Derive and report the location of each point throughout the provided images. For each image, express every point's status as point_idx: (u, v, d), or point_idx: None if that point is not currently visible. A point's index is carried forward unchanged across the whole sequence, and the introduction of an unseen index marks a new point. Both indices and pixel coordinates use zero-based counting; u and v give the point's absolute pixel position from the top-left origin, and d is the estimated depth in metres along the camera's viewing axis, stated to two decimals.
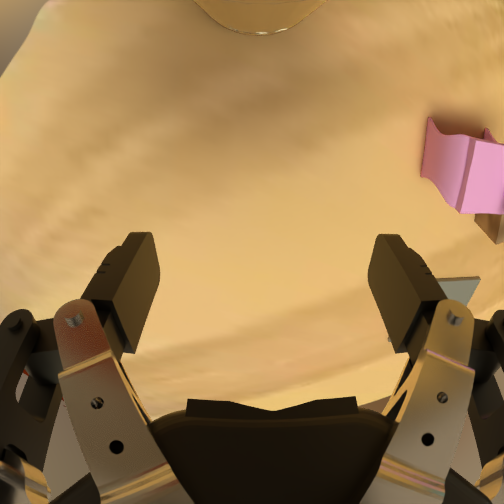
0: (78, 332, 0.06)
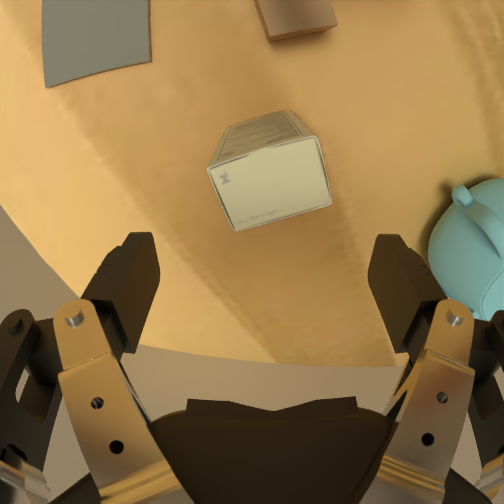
0: (78, 332, 0.06)
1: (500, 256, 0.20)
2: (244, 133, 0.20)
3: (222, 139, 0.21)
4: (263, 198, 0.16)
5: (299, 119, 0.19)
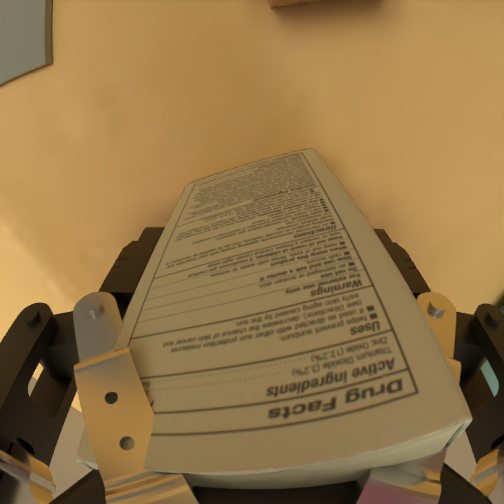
0: (98, 324, 0.06)
1: None
2: (208, 241, 0.08)
3: (159, 245, 0.09)
4: None
5: (357, 210, 0.07)
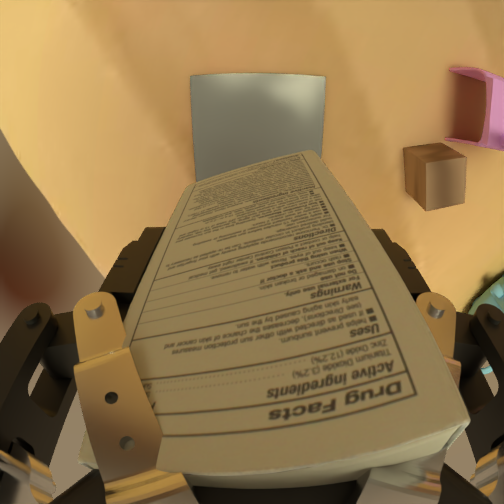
0: (98, 324, 0.06)
1: None
2: (208, 243, 0.08)
3: (159, 247, 0.09)
4: None
5: (357, 212, 0.07)
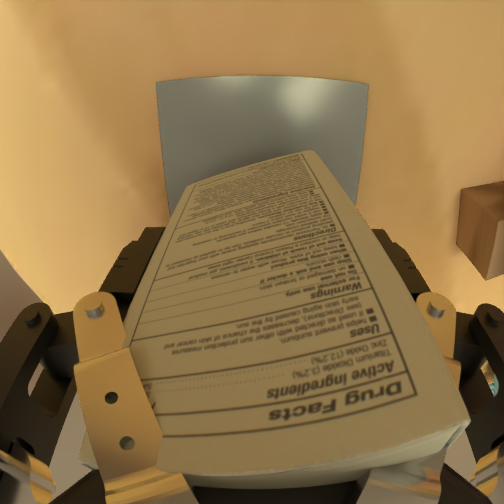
0: (98, 324, 0.06)
1: None
2: (208, 243, 0.08)
3: (159, 247, 0.09)
4: None
5: (357, 212, 0.07)
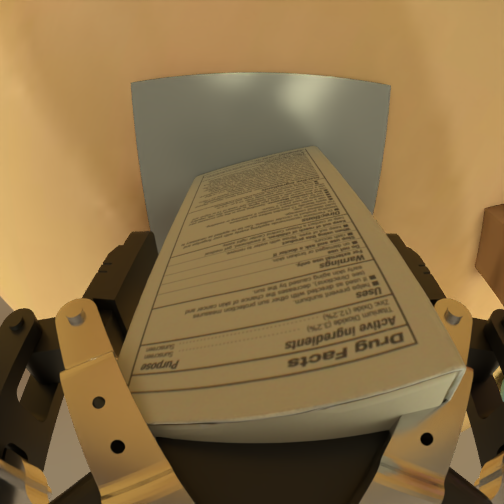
0: (80, 331, 0.06)
1: None
2: (221, 225, 0.09)
3: (173, 229, 0.10)
4: None
5: (358, 199, 0.08)
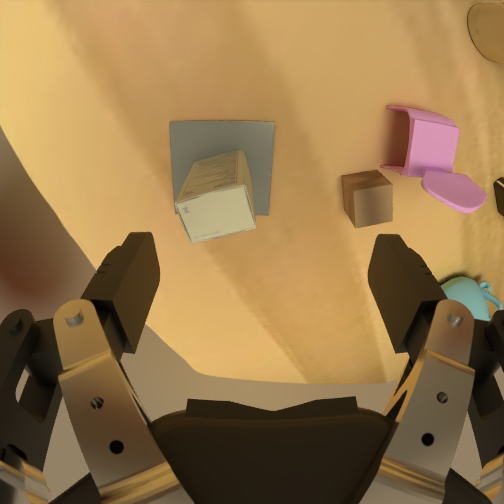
0: (78, 332, 0.06)
1: None
2: (204, 173, 0.29)
3: (188, 175, 0.30)
4: (210, 223, 0.25)
5: (243, 164, 0.28)
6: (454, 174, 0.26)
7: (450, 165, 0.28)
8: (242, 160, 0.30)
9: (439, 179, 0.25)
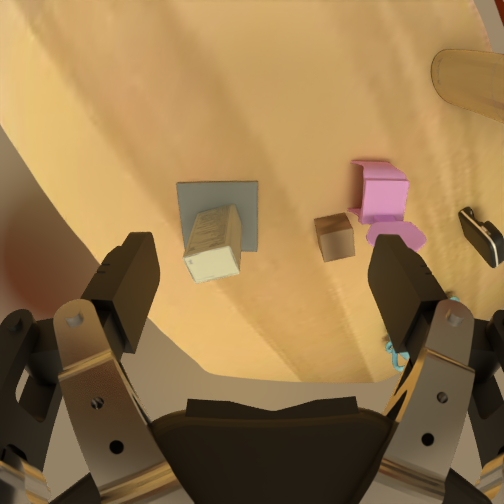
0: (78, 332, 0.06)
1: None
2: (203, 229, 0.40)
3: (192, 230, 0.41)
4: (208, 270, 0.37)
5: (231, 223, 0.40)
6: (400, 222, 0.36)
7: (401, 212, 0.38)
8: (231, 218, 0.41)
9: (383, 230, 0.35)
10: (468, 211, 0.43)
